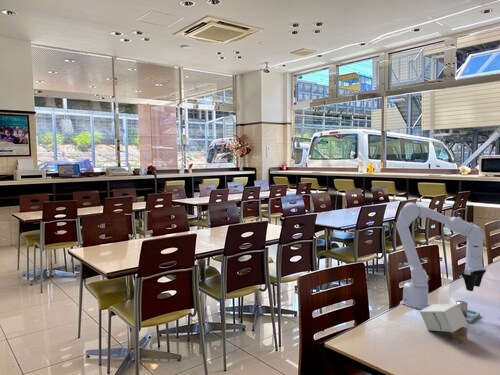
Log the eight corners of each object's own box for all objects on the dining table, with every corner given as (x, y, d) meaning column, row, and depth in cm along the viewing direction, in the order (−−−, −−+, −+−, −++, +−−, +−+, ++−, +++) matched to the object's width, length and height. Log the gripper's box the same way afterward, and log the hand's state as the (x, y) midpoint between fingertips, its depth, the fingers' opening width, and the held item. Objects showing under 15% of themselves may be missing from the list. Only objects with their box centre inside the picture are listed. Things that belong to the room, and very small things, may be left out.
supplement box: (418, 310, 140) (443, 310, 128) (433, 303, 142) (459, 302, 131) (427, 330, 138) (453, 332, 127) (441, 323, 141) (468, 324, 129)
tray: (441, 315, 151) (441, 312, 151) (451, 308, 158) (451, 305, 158) (470, 323, 144) (470, 320, 143) (480, 315, 150) (480, 312, 150)
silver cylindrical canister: (454, 314, 151) (454, 302, 151) (458, 311, 154) (458, 299, 153) (464, 317, 148) (465, 305, 148) (468, 314, 150) (469, 302, 150)
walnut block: (451, 340, 131) (452, 328, 131) (454, 335, 134) (454, 324, 134) (464, 343, 128) (465, 332, 128) (467, 339, 132) (467, 327, 131)
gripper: (479, 260, 145) (477, 295, 146) (491, 254, 154) (490, 286, 155) (459, 257, 150) (458, 290, 151) (472, 251, 159) (471, 282, 160)
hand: (473, 288), depth 153 cm, fingers open, 7 cm apart
